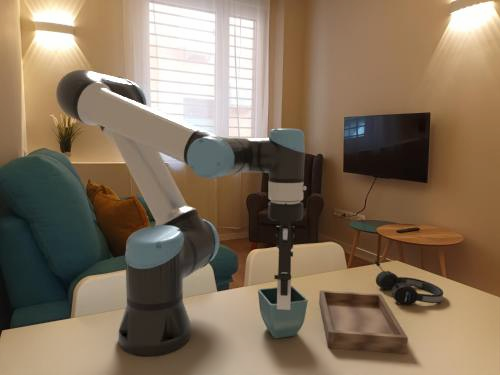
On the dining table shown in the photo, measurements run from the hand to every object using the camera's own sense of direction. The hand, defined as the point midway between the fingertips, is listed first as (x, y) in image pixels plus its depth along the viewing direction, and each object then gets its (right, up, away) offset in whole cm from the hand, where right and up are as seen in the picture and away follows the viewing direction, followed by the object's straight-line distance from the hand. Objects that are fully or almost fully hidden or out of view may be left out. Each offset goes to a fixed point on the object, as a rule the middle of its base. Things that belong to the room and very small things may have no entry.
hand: (283, 295), depth 83 cm
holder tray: (+18, -9, +6) cm, 21 cm away
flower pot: (-1, -9, +1) cm, 9 cm away
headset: (+37, -7, +24) cm, 45 cm away
